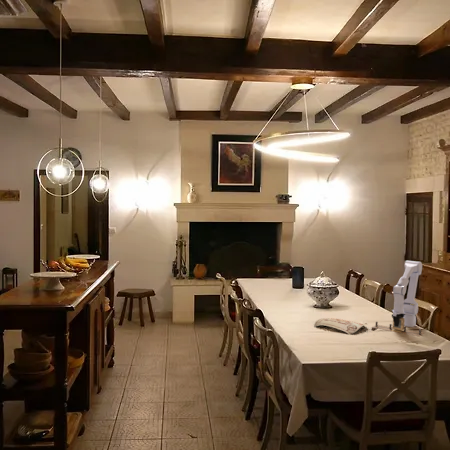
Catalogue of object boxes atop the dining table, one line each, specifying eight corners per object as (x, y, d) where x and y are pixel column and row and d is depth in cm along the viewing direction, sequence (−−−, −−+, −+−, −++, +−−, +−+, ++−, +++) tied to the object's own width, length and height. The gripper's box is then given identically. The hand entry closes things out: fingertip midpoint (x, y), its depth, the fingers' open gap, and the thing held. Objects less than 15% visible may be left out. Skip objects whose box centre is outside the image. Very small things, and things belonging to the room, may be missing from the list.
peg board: (377, 326, 336) (377, 320, 336) (424, 335, 318) (424, 328, 317) (371, 329, 328) (371, 322, 328) (419, 338, 310) (419, 331, 309)
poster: (371, 332, 335) (329, 322, 354) (372, 322, 335) (330, 313, 354) (352, 337, 313) (309, 327, 332) (353, 327, 313) (310, 317, 332)
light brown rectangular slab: (394, 327, 326) (395, 316, 325) (404, 329, 322) (404, 318, 322) (392, 328, 323) (393, 317, 322) (401, 330, 319) (402, 319, 318)
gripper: (396, 301, 330) (395, 322, 331) (388, 305, 318) (387, 326, 319) (407, 303, 326) (406, 324, 326) (399, 306, 314) (398, 328, 315)
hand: (397, 325), depth 323 cm, fingers closed on light brown rectangular slab, 4 cm apart
